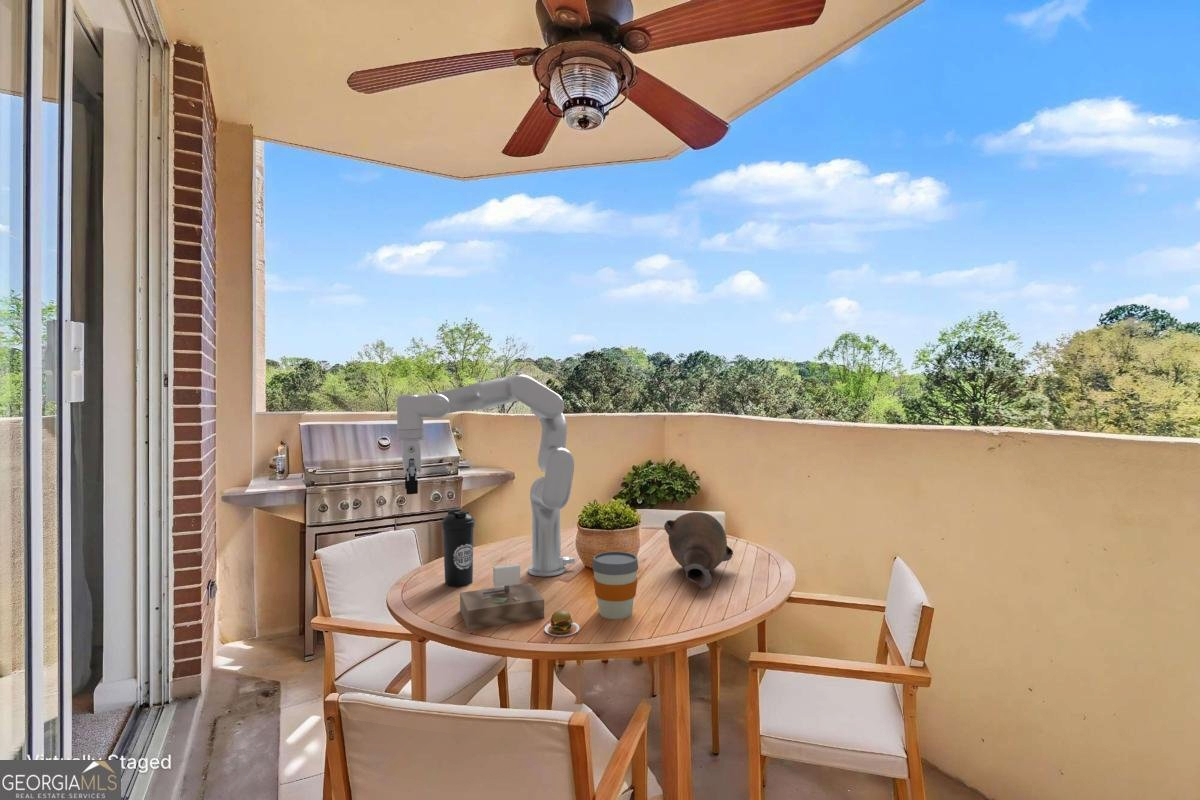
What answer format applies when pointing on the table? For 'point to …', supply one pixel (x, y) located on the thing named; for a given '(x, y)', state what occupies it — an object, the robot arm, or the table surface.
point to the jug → (698, 545)
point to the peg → (505, 577)
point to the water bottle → (458, 548)
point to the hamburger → (561, 623)
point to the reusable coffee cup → (615, 583)
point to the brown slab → (501, 606)
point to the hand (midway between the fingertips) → (411, 491)
